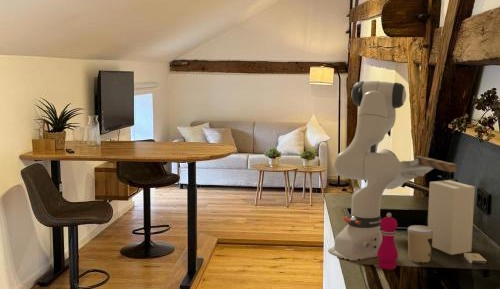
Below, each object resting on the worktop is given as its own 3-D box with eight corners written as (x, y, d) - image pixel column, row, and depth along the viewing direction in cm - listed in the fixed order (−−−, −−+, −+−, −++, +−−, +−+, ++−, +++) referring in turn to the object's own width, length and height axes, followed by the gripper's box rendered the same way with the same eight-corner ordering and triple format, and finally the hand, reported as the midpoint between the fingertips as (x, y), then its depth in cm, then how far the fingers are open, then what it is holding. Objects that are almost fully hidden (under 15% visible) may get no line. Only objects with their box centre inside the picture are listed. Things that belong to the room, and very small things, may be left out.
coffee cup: (433, 264, 202) (435, 232, 201) (407, 262, 204) (408, 231, 202) (430, 256, 211) (432, 225, 210) (405, 254, 213) (406, 224, 211)
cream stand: (471, 251, 216) (474, 186, 213) (450, 254, 213) (454, 188, 209) (446, 241, 229) (449, 180, 226) (426, 244, 226) (429, 181, 222)
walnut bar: (456, 171, 217) (456, 164, 217) (450, 172, 216) (450, 164, 215) (420, 162, 237) (420, 156, 237) (414, 163, 236) (414, 156, 236)
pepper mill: (391, 271, 195) (393, 216, 192) (373, 266, 199) (374, 212, 197) (401, 266, 200) (403, 212, 197) (383, 261, 205) (384, 209, 202)
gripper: (383, 166, 242) (400, 154, 230) (421, 163, 250) (440, 151, 238) (387, 179, 240) (404, 168, 228) (425, 176, 248) (444, 165, 236)
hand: (423, 160), depth 233 cm, fingers closed on walnut bar, 3 cm apart
